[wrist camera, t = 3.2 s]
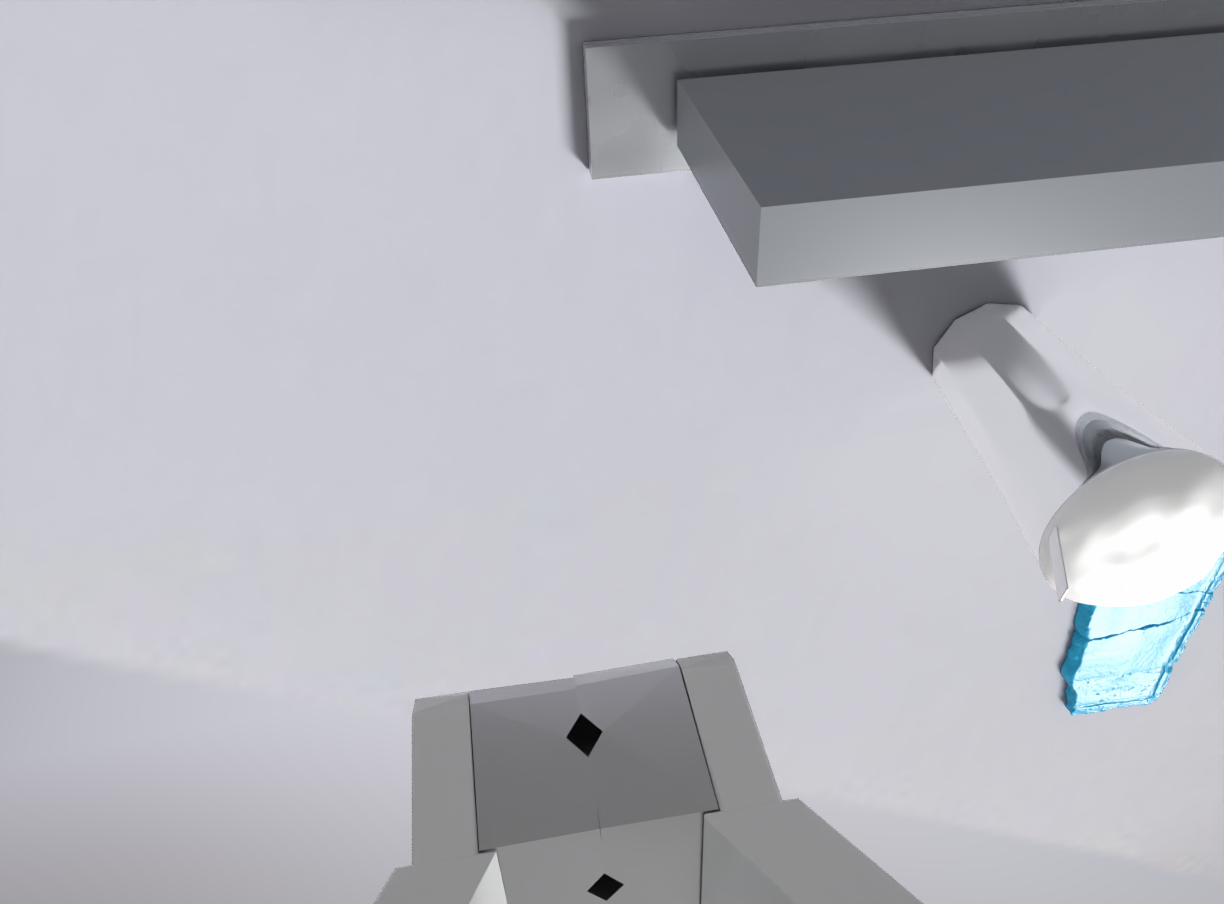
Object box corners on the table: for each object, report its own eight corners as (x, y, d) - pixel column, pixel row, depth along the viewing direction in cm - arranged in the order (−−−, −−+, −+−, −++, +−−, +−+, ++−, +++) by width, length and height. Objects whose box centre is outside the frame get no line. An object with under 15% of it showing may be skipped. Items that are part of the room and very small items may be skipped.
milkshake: (911, 274, 27) (1111, 512, 19) (1083, 284, 28) (1339, 514, 20) (863, 409, 29) (1021, 667, 22) (1022, 414, 31) (1226, 661, 23)
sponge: (1021, 720, 40) (1159, 718, 41) (1120, 500, 33) (1288, 499, 33) (1009, 690, 42) (1143, 689, 42) (1101, 471, 34) (1263, 471, 34)
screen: (1484, 9, 24) (1802, 102, 18) (1454, 73, 25) (1747, 180, 19) (677, 79, 22) (761, 207, 16) (677, 145, 23) (756, 287, 17)
